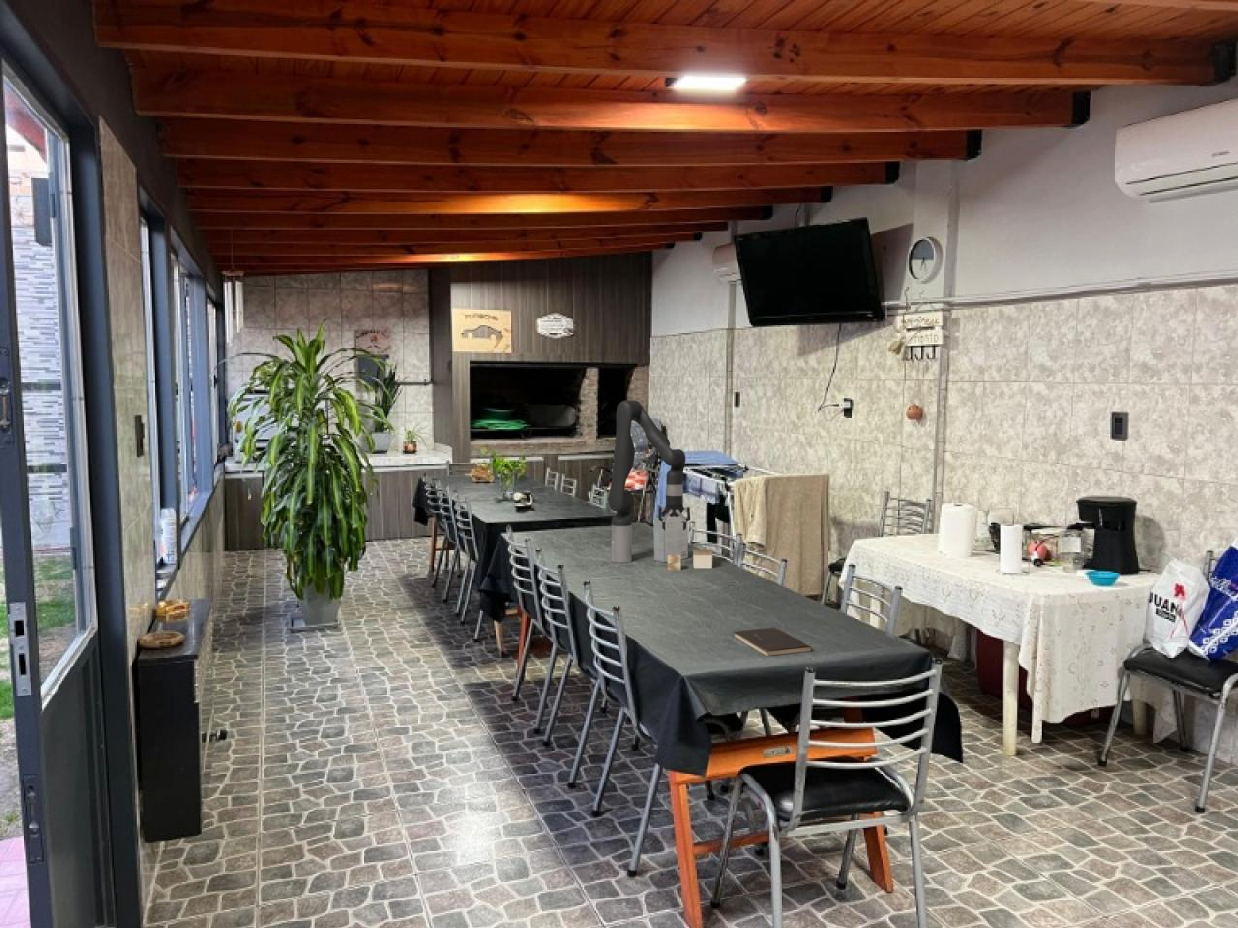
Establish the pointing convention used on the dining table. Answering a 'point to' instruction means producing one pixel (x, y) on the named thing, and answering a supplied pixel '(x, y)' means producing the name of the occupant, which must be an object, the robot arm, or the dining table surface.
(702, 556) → the tea tin
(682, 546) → the hard drive box
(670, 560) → the beech block
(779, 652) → the hardcover book
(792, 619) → the dining table surface
